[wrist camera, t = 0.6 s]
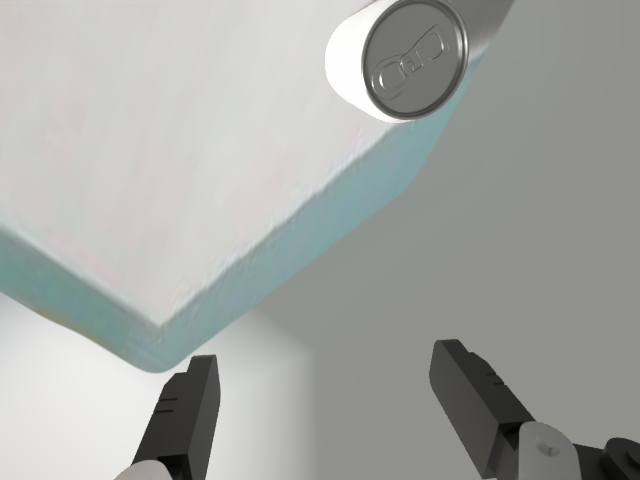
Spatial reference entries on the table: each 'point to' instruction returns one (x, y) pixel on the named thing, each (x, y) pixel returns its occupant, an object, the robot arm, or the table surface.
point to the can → (399, 58)
